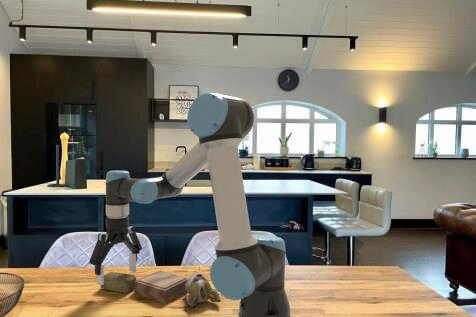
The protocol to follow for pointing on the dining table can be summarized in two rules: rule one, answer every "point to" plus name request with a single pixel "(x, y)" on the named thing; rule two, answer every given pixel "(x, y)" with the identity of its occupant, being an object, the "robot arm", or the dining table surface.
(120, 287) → the stone block
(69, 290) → the dining table surface
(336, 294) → the dining table surface
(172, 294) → the walnut box
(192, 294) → the ceramic sculpture
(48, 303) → the dining table surface
